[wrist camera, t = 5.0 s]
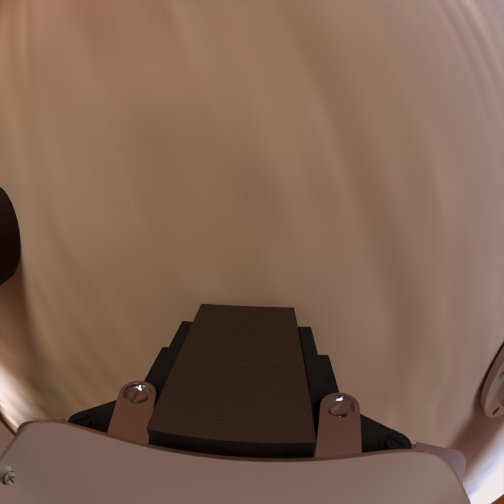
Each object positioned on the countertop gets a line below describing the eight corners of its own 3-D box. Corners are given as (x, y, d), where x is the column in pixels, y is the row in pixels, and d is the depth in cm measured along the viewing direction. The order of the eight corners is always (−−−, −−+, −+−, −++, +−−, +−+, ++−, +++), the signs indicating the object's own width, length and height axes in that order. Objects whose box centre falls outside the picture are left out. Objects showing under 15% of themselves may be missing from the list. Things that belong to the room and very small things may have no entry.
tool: (294, 307, 12) (316, 442, 5) (270, 485, 17) (268, 555, 10) (201, 303, 12) (145, 428, 5) (220, 482, 17) (210, 551, 10)
